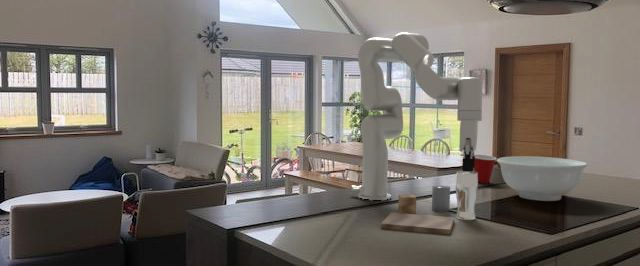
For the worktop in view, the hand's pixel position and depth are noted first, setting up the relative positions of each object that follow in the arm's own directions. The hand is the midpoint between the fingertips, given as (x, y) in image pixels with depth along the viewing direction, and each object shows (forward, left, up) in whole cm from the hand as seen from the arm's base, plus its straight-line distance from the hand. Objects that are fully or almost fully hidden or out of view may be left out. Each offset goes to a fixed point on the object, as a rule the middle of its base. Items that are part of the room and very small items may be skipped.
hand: (468, 169), depth 180 cm
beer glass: (0, 0, -16) cm, 16 cm away
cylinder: (-9, +10, -16) cm, 21 cm away
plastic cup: (+3, +75, -16) cm, 77 cm away
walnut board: (-13, -15, -16) cm, 26 cm away
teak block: (-19, 0, -16) cm, 25 cm away
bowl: (+25, +47, -16) cm, 56 cm away
